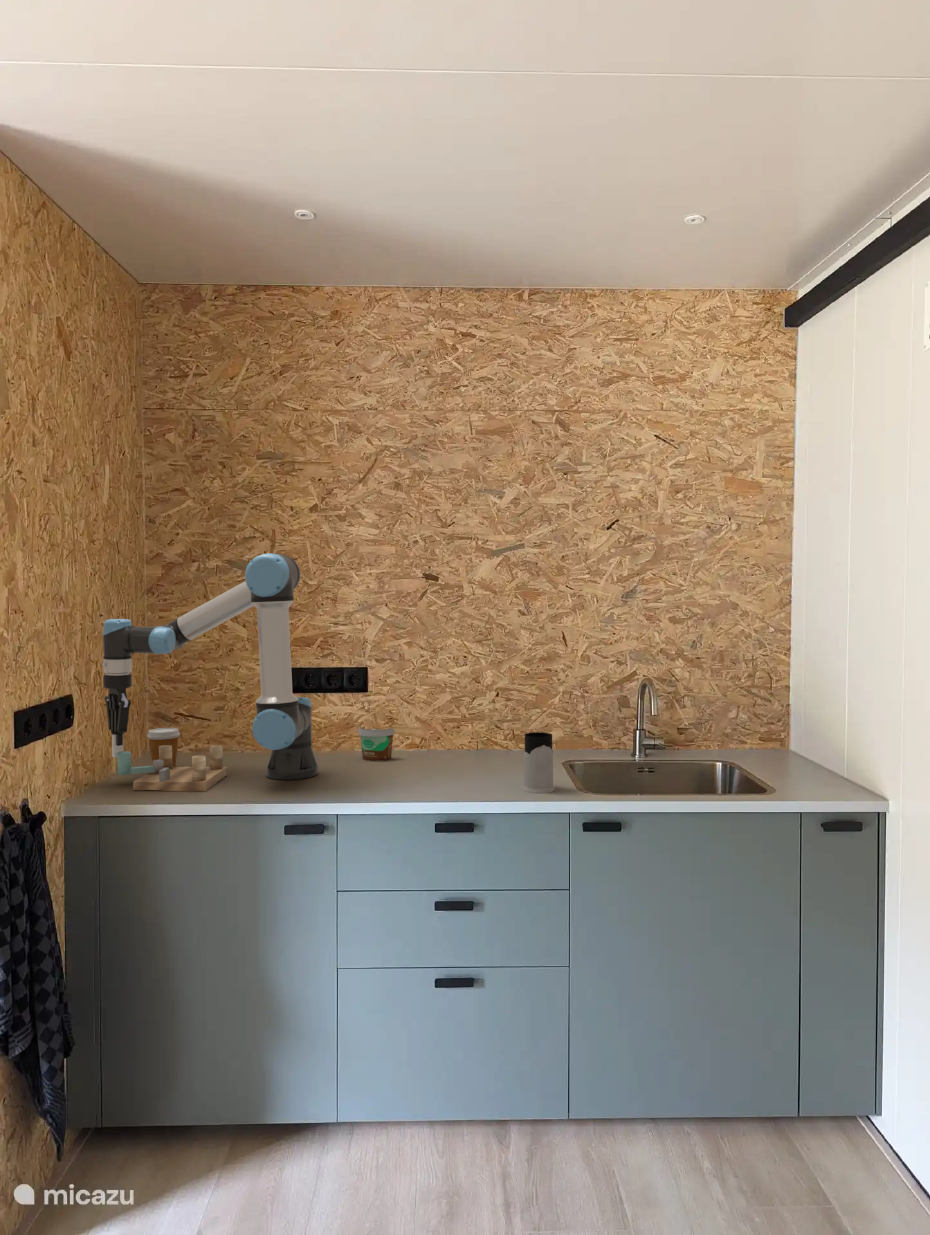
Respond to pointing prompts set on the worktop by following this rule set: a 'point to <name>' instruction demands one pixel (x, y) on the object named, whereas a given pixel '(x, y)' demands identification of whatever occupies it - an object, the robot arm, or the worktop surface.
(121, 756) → the hinged leg
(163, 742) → the disposable coffee cup
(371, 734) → the food container
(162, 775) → the block
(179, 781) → the stool seat
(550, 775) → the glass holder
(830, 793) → the worktop surface
